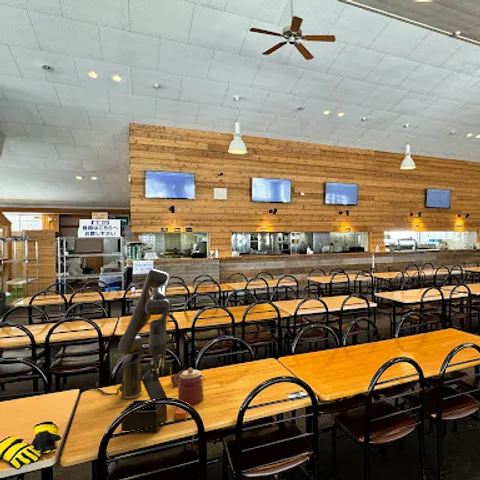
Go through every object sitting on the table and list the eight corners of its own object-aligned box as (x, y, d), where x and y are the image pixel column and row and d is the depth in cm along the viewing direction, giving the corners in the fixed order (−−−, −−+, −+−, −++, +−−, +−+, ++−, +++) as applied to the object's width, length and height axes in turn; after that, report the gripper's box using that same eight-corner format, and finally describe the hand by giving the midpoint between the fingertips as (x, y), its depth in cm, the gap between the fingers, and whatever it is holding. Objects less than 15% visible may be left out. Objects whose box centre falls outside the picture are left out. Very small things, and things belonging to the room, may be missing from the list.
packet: (185, 419, 182) (185, 412, 182) (174, 419, 182) (174, 413, 182) (190, 411, 190) (190, 405, 190) (180, 411, 190) (180, 405, 190)
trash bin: (121, 434, 169) (121, 412, 169) (134, 420, 182) (133, 400, 182) (156, 432, 170) (156, 411, 170) (167, 419, 182) (166, 399, 182)
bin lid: (140, 377, 169) (151, 372, 170) (151, 368, 182) (161, 363, 182) (155, 410, 170) (166, 405, 170) (165, 398, 182) (175, 394, 182)
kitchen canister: (205, 394, 211) (204, 363, 210) (201, 404, 198) (200, 371, 198) (181, 396, 209) (180, 364, 209) (175, 406, 196) (174, 372, 196)
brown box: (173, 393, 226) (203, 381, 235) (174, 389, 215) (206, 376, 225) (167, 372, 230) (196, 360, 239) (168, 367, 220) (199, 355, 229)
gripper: (155, 338, 183) (156, 373, 183) (143, 347, 168) (143, 384, 169) (171, 338, 183) (171, 373, 183) (160, 346, 169) (160, 384, 169)
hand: (158, 378), depth 176 cm, fingers closed on bin lid, 5 cm apart
